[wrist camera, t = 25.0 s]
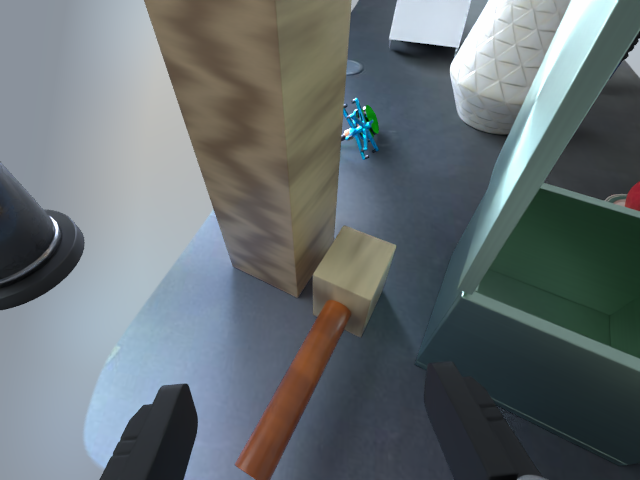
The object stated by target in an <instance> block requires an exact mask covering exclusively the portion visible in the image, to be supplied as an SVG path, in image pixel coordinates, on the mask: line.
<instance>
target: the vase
mask: <svg viewBox="0 0 640 480" xmlns="http://www.w3.org/2000/svg"><path fill="white" fill-rule="evenodd" d="M570 1H571V0H489V1H488V3H487V5H486V6H485V8H484V10H483V11H482V13H481V15H480V16H479V18H478V20H477V21H476V23H475V25H474V26H473V28H472V30H471V31H470V33H469V35H468V36H467V38H466V40H465V41H464V43H463V45H462V46H461V48H460V50H459V51H458V53H457V55H456V56H455V58H454V60H453V61H452V63H451V66H450V76H451V81H452V86H453V91H454V97H455V102H456V107H457V112H458V115H459V117H460V118H461V119H462V120H463V121H464V122H465V123H466V124H468V125H469V126H471V127H473V128H475V129H478V130H480V131H483V132H487V133H492V134H509V133H510V130H511V128H512V126H513V124H514V122H515V120H516V118H517V115H518V113H519V111H520V109H521V107H522V105H523V102H524V100H525V98H526V96H527V94H528V92H529V90H530V87H531V85H532V83H533V81H534V79H535V77H536V75H537V72H538V70H539V68H540V66H541V64H542V62H543V59H544V57H545V55H546V53H547V51H548V49H549V47H550V44H551V42H552V40H553V38H554V36H555V34H556V32H557V29H558V27H559V25H560V23H561V21H562V19H563V16H564V14H565V12H566V10H567V8H568V6H569V4H570Z"/></svg>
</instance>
